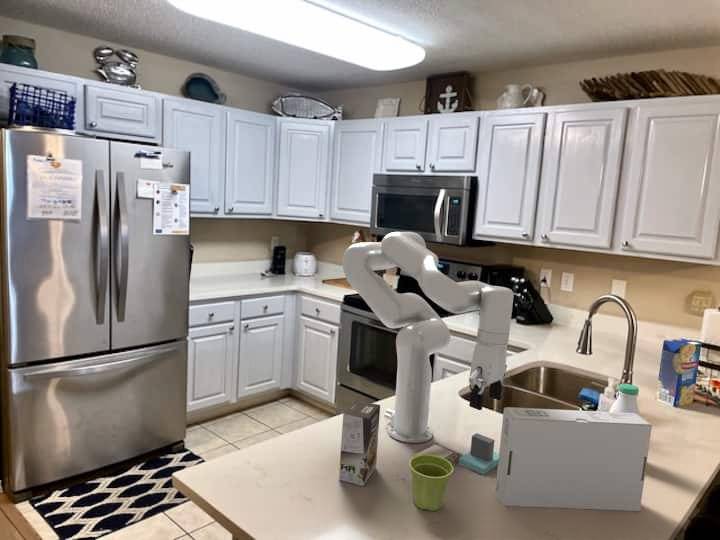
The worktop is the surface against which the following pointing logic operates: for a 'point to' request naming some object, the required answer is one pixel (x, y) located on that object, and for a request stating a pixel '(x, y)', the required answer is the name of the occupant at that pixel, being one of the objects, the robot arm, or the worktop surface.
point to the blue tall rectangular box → (678, 372)
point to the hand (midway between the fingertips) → (485, 403)
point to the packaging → (572, 459)
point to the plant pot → (429, 480)
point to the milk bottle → (626, 400)
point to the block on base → (480, 455)
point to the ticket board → (441, 453)
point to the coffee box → (359, 442)
